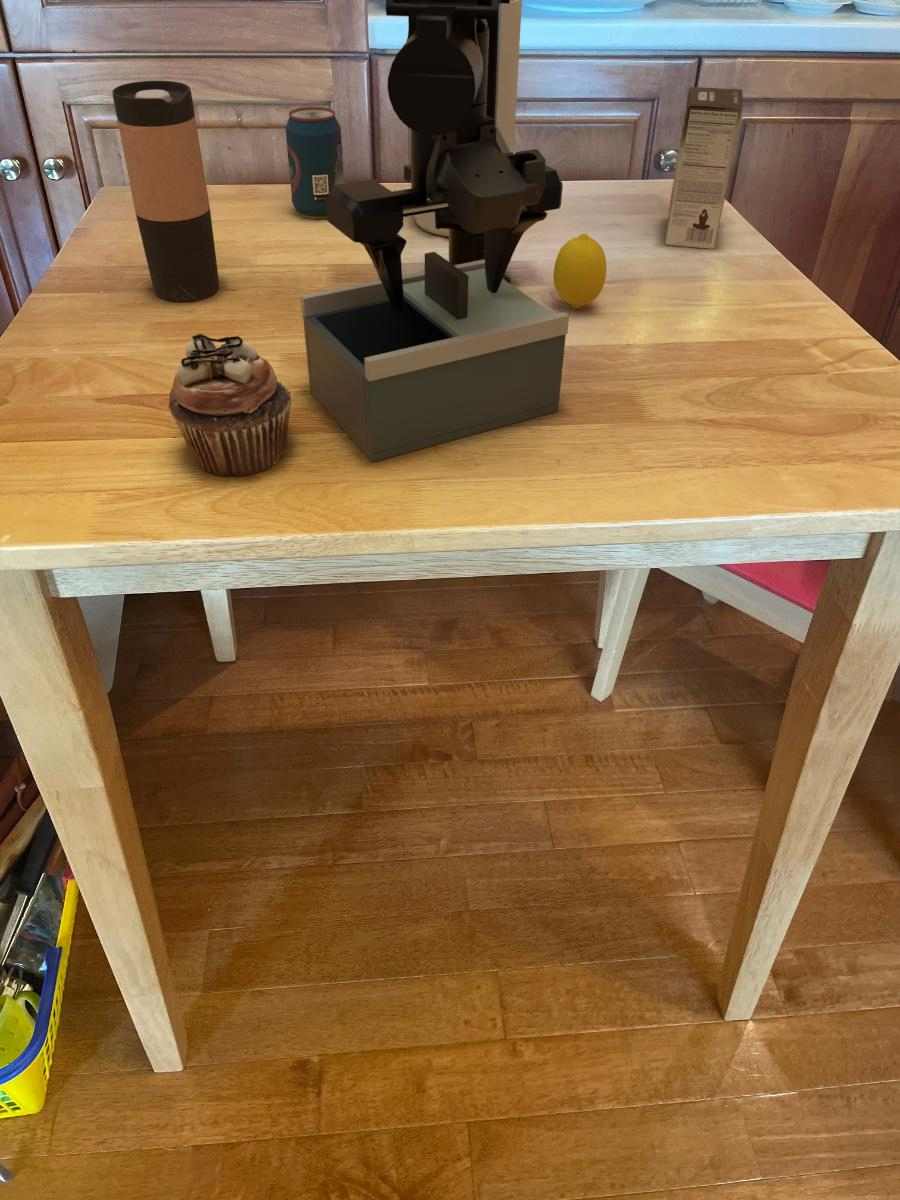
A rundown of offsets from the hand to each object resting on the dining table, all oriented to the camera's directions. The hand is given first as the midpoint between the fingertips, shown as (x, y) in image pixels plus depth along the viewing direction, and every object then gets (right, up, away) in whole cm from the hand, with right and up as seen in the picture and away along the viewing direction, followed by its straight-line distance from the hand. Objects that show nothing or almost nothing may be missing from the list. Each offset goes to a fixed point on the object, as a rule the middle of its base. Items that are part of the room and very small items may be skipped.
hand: (445, 301), depth 79 cm
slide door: (+3, 0, +2) cm, 3 cm away
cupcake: (-17, -13, -1) cm, 22 cm away
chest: (-1, -7, +6) cm, 9 cm away
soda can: (-17, +26, +44) cm, 54 cm away
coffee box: (+31, +21, +39) cm, 54 cm away
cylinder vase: (+2, +24, +41) cm, 48 cm away
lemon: (+14, +6, +22) cm, 27 cm away
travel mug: (-29, +9, +24) cm, 39 cm away
